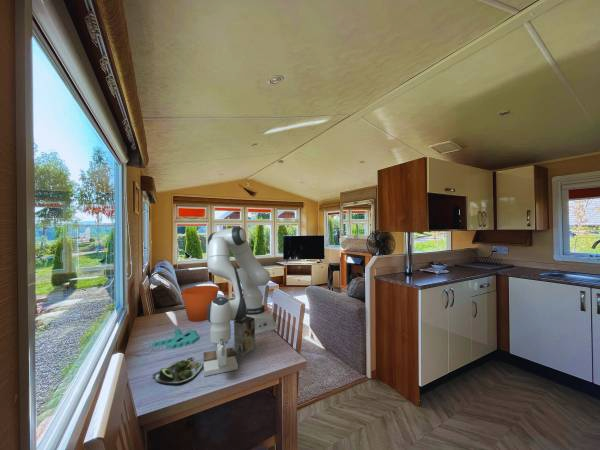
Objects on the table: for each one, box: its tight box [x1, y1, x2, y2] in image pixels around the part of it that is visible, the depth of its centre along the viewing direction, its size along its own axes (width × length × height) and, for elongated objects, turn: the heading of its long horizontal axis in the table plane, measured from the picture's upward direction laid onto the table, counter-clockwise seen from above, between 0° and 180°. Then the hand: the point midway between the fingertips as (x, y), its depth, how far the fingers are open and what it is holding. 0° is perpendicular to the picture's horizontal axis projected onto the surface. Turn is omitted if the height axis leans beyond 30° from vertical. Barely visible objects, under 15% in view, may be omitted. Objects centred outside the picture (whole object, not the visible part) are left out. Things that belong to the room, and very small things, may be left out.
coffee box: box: [233, 316, 256, 356], centre depth 133 cm, size 9×6×16 cm
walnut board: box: [203, 347, 236, 363], centre depth 124 cm, size 14×9×2 cm, turn 112°
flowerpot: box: [180, 285, 219, 323], centre depth 180 cm, size 25×25×20 cm
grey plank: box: [203, 356, 239, 377], centre depth 116 cm, size 14×9×2 cm, turn 112°
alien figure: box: [151, 328, 200, 350], centre depth 145 cm, size 20×2×20 cm
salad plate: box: [151, 357, 203, 387], centre depth 113 cm, size 19×18×5 cm
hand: (220, 366), depth 113 cm, fingers closed, pressing on grey plank
